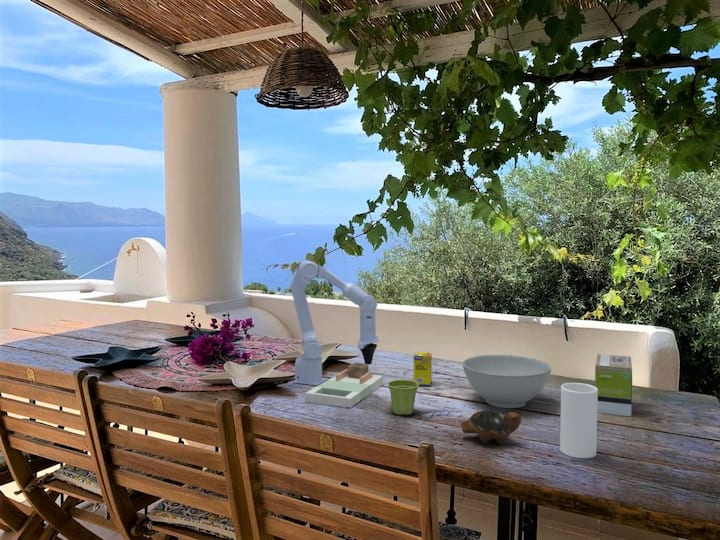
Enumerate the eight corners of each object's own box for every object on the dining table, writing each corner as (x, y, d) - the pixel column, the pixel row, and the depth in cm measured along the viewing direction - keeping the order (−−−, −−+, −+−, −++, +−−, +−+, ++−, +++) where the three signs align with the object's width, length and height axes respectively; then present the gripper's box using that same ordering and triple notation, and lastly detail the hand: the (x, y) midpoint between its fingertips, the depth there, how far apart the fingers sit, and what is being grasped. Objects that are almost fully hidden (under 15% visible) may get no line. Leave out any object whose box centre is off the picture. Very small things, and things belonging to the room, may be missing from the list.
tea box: (596, 398, 171) (597, 353, 170) (630, 402, 167) (632, 355, 166) (593, 412, 158) (595, 363, 157) (631, 417, 153) (633, 367, 152)
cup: (554, 445, 134) (555, 383, 133) (585, 443, 135) (586, 382, 133) (569, 459, 126) (571, 393, 125) (603, 457, 126) (604, 391, 125)
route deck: (305, 402, 170) (305, 386, 170) (342, 379, 195) (342, 366, 195) (350, 408, 163) (350, 392, 163) (383, 384, 189) (383, 370, 189)
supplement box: (430, 387, 185) (430, 356, 184) (413, 386, 186) (413, 355, 185) (431, 382, 191) (431, 352, 190) (415, 381, 192) (415, 351, 191)
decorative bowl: (564, 400, 169) (565, 363, 168) (526, 423, 149) (526, 381, 148) (488, 384, 187) (489, 350, 186) (446, 403, 168) (446, 365, 167)
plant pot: (401, 404, 166) (401, 377, 166) (425, 411, 160) (425, 383, 159) (381, 412, 160) (380, 383, 159) (404, 419, 153) (404, 390, 153)
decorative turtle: (524, 449, 132) (522, 418, 131) (462, 449, 134) (460, 419, 134) (519, 432, 141) (518, 403, 140) (461, 433, 144) (459, 404, 143)
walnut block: (348, 377, 187) (347, 366, 187) (354, 373, 192) (354, 362, 192) (362, 379, 185) (362, 367, 184) (368, 375, 190) (368, 364, 190)
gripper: (370, 331, 187) (370, 369, 188) (384, 324, 200) (385, 360, 201) (352, 330, 190) (352, 367, 191) (367, 323, 203) (368, 358, 204)
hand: (368, 363), depth 196 cm, fingers closed
